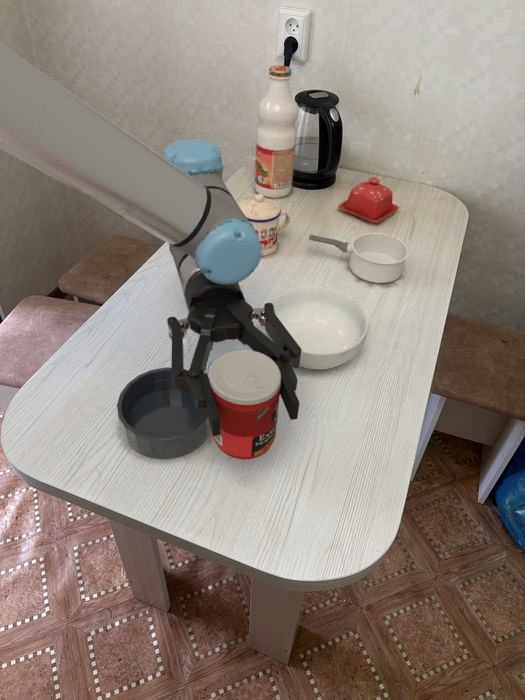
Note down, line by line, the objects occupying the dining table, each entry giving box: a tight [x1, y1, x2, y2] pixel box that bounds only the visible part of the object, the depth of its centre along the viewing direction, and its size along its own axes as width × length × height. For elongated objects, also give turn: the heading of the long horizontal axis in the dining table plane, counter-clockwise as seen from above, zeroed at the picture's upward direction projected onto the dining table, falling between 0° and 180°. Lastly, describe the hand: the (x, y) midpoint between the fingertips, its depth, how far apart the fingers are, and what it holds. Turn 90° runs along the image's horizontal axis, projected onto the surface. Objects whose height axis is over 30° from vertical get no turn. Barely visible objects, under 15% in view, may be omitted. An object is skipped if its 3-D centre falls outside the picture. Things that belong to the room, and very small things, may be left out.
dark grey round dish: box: [116, 366, 212, 460], centre depth 72 cm, size 13×13×4 cm
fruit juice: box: [254, 64, 299, 199], centre depth 119 cm, size 9×9×28 cm
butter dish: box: [337, 176, 400, 224], centre depth 119 cm, size 12×12×8 cm
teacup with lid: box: [237, 193, 291, 257], centre depth 105 cm, size 12×9×12 cm
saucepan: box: [308, 232, 410, 284], centre depth 103 cm, size 12×20×6 cm, turn 76°
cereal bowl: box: [266, 285, 369, 370], centre depth 84 cm, size 17×17×7 cm
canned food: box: [208, 349, 281, 460], centre depth 58 cm, size 8×8×11 cm
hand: (256, 419), depth 53 cm, fingers closed on canned food, 8 cm apart
